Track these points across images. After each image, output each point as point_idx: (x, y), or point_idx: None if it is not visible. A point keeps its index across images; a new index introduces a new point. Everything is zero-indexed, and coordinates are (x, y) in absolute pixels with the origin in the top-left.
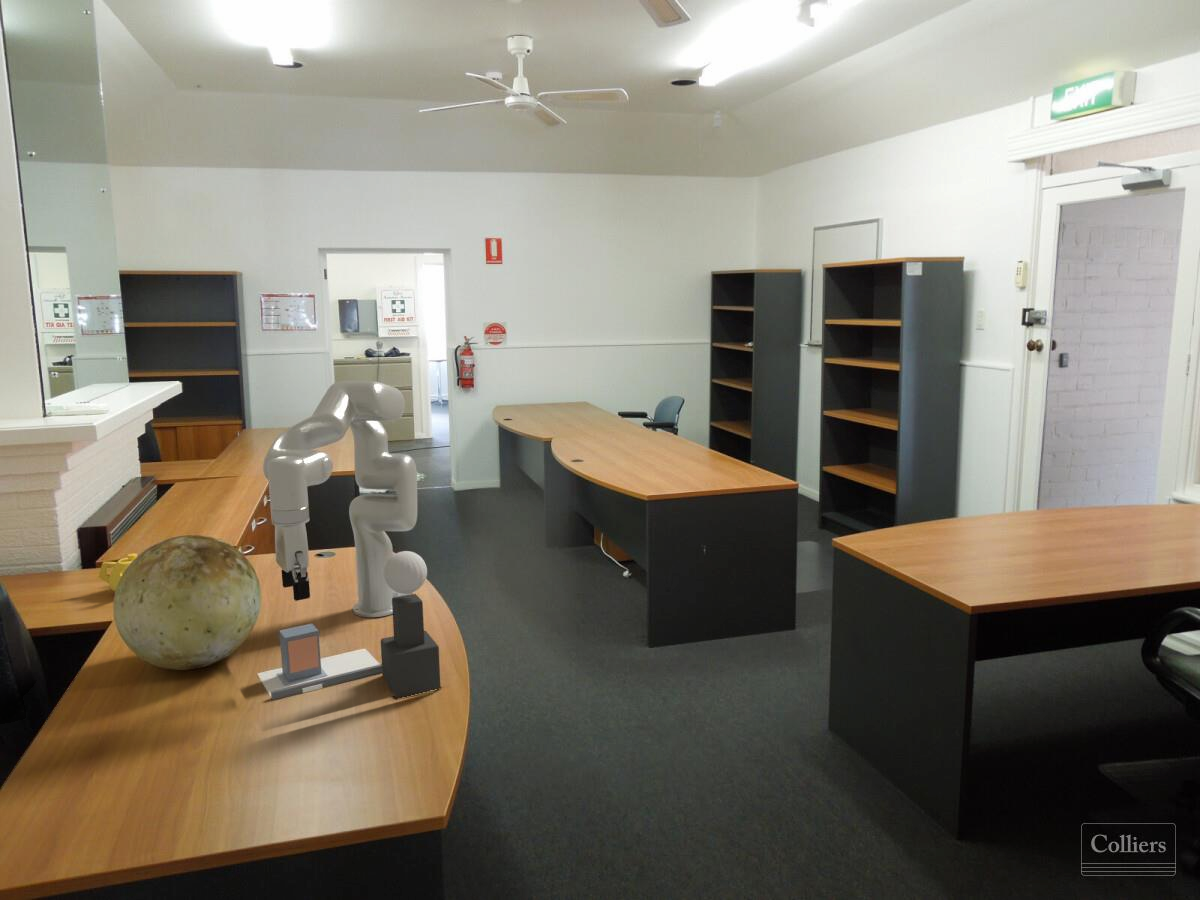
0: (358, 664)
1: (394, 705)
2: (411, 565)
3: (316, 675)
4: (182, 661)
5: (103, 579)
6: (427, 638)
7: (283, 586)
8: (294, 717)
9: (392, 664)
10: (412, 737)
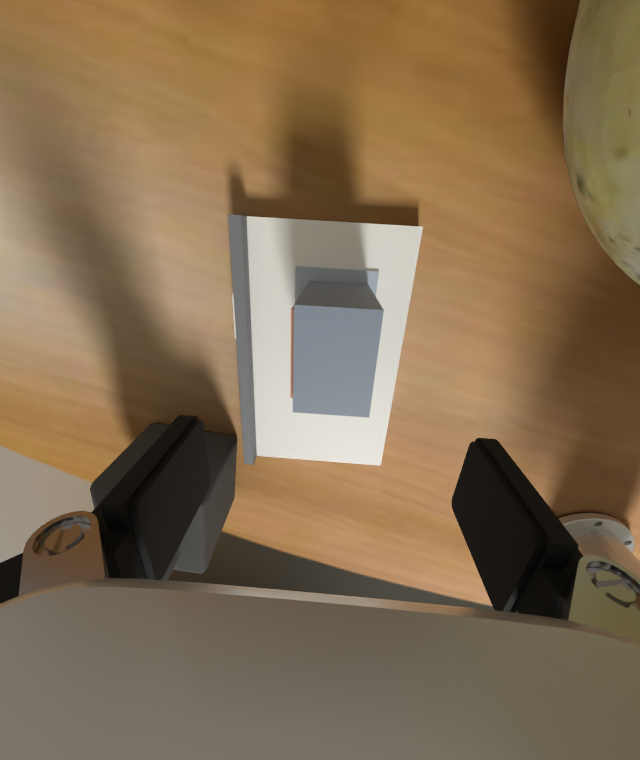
0: (311, 429)
1: (134, 415)
2: None
3: None
4: None
5: None
6: None
7: (480, 440)
8: (162, 244)
9: (105, 470)
10: (6, 394)
